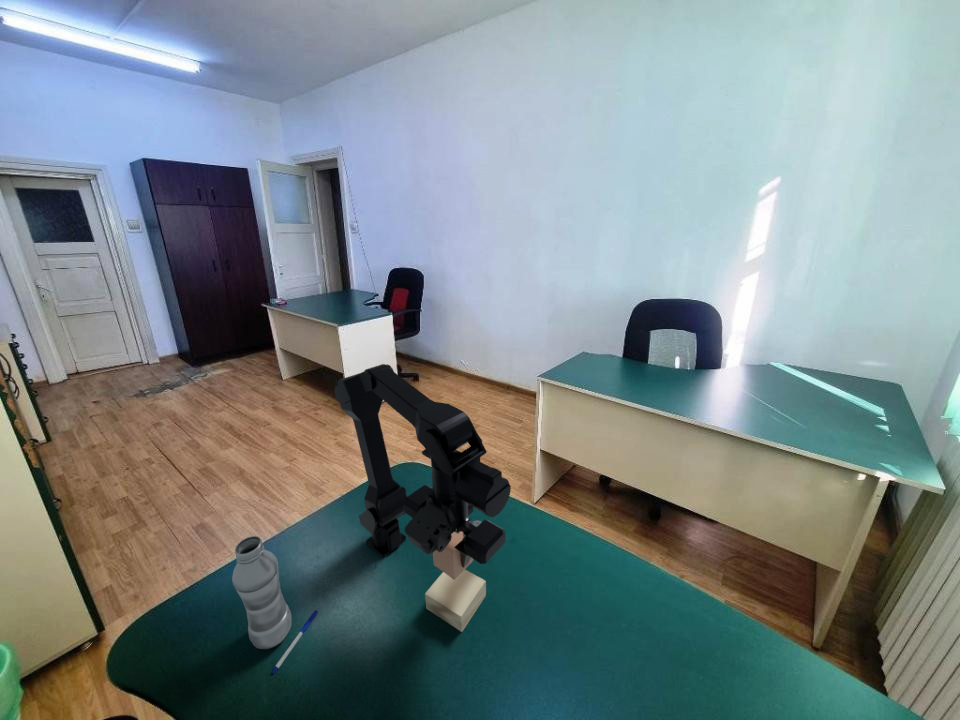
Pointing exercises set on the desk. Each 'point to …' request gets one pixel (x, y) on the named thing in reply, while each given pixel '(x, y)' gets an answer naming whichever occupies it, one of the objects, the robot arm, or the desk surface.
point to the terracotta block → (450, 558)
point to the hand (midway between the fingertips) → (453, 557)
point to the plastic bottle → (261, 593)
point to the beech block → (456, 598)
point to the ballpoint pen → (295, 641)
